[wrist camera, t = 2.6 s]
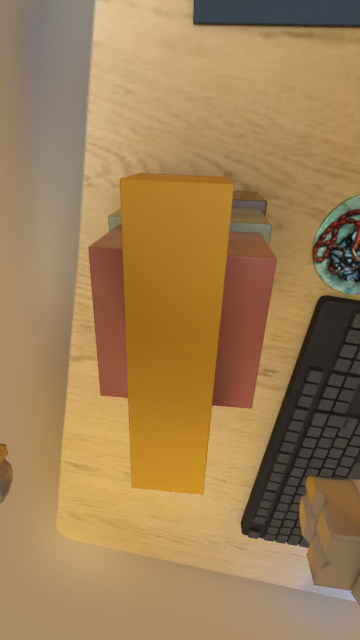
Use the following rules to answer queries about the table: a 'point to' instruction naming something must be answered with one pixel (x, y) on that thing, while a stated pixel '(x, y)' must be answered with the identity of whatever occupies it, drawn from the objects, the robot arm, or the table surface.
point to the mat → (278, 12)
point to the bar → (172, 321)
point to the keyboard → (311, 424)
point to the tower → (236, 315)
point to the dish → (340, 248)
